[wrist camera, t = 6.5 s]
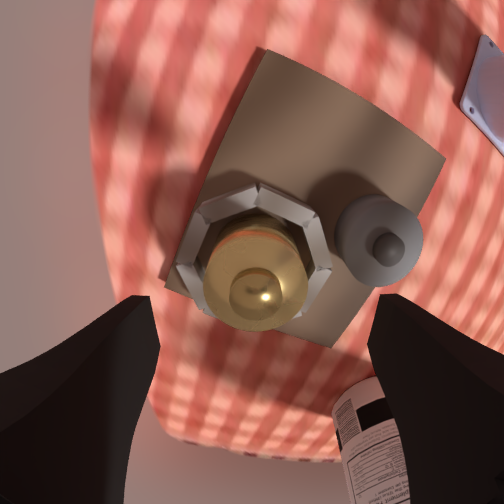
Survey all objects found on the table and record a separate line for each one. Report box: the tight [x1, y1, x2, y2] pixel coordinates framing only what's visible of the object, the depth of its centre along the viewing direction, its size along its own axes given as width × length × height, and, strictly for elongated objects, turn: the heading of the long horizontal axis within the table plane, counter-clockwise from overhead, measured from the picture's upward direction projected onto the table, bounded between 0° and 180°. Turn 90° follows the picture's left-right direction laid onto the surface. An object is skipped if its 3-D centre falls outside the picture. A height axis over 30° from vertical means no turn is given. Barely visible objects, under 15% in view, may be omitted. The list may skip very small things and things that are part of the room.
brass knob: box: [203, 213, 308, 332], centre depth 16 cm, size 5×5×5 cm
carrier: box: [164, 49, 446, 348], centre depth 16 cm, size 13×16×4 cm
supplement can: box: [331, 376, 410, 504], centre depth 18 cm, size 8×8×15 cm
